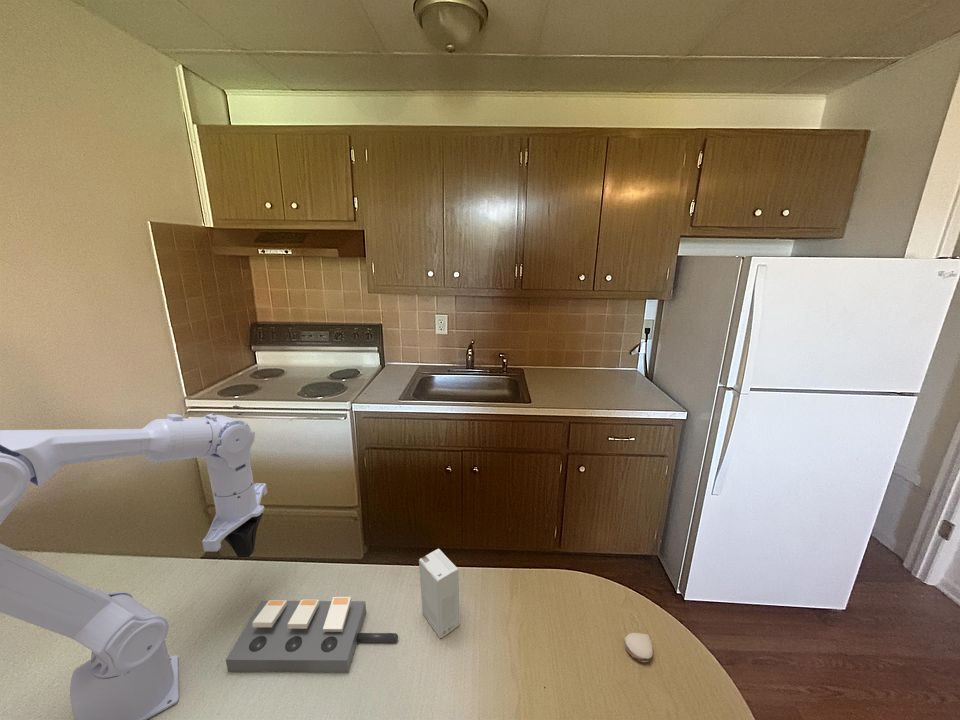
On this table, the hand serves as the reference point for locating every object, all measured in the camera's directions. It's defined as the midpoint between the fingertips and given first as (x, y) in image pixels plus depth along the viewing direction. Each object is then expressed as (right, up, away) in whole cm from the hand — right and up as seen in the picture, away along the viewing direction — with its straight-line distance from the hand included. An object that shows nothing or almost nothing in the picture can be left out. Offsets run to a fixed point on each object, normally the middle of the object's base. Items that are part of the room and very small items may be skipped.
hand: (245, 554), depth 67 cm
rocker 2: (+17, -8, -3) cm, 19 cm away
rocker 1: (+12, -8, -3) cm, 15 cm away
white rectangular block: (+6, -8, -3) cm, 11 cm away
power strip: (+15, -12, -4) cm, 20 cm away
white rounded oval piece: (+67, -14, -4) cm, 68 cm away
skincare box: (+34, -12, 0) cm, 36 cm away
